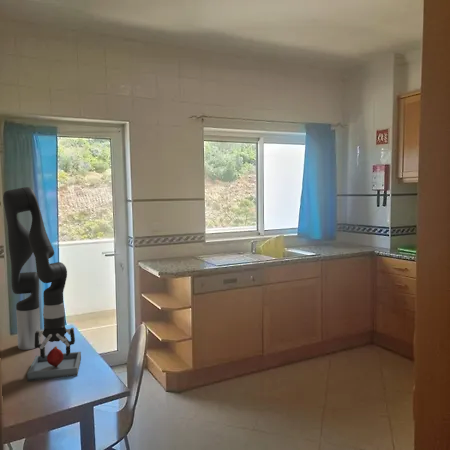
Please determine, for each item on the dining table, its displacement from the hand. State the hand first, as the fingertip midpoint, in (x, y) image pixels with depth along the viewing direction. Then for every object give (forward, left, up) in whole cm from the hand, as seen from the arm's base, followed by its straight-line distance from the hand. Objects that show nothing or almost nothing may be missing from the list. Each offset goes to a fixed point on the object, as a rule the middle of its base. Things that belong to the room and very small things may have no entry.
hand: (55, 356), depth 161 cm
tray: (0, 0, -5) cm, 5 cm away
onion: (0, 0, -4) cm, 4 cm away
